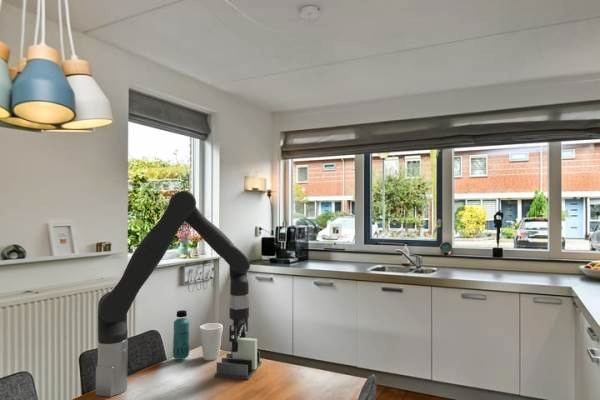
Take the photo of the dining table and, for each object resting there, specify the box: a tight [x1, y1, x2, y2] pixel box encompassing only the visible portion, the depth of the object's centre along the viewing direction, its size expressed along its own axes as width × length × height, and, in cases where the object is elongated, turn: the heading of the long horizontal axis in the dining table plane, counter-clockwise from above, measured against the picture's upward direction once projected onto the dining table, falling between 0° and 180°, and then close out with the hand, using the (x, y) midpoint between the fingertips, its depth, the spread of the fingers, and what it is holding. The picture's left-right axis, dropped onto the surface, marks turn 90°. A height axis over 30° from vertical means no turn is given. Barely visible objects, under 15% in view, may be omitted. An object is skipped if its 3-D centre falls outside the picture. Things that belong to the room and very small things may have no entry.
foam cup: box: [199, 322, 224, 361], centre depth 172 cm, size 10×9×13 cm
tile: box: [233, 337, 258, 370], centre depth 158 cm, size 3×9×11 cm, turn 78°
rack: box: [214, 348, 262, 381], centre depth 158 cm, size 16×13×5 cm
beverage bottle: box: [172, 309, 190, 360], centre depth 169 cm, size 6×7×20 cm
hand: (238, 348), depth 158 cm, fingers open, 8 cm apart
